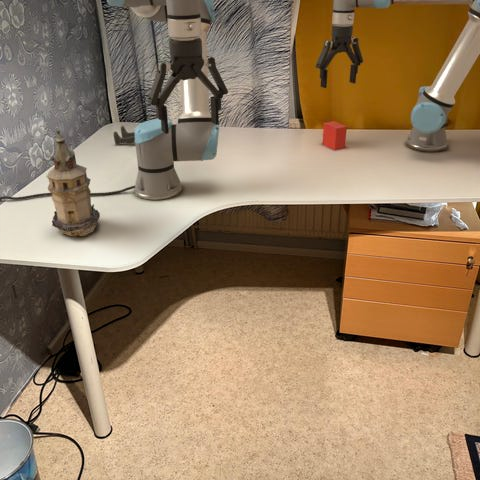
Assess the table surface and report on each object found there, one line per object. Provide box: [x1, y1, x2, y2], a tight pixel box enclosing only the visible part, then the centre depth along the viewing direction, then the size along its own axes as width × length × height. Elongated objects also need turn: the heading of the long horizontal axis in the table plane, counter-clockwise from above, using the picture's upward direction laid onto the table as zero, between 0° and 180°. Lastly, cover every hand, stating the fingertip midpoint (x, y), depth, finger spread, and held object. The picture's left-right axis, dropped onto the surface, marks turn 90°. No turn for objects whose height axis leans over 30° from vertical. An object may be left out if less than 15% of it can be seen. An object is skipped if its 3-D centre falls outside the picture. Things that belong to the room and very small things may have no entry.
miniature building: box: [46, 129, 101, 237], centre depth 148 cm, size 13×14×30 cm
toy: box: [113, 125, 135, 146], centre depth 218 cm, size 26×6×30 cm
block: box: [321, 120, 348, 151], centre depth 212 cm, size 5×8×9 cm, turn 29°
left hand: (190, 127), depth 134 cm, fingers open, 13 cm apart
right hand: (338, 85), depth 202 cm, fingers open, 13 cm apart
